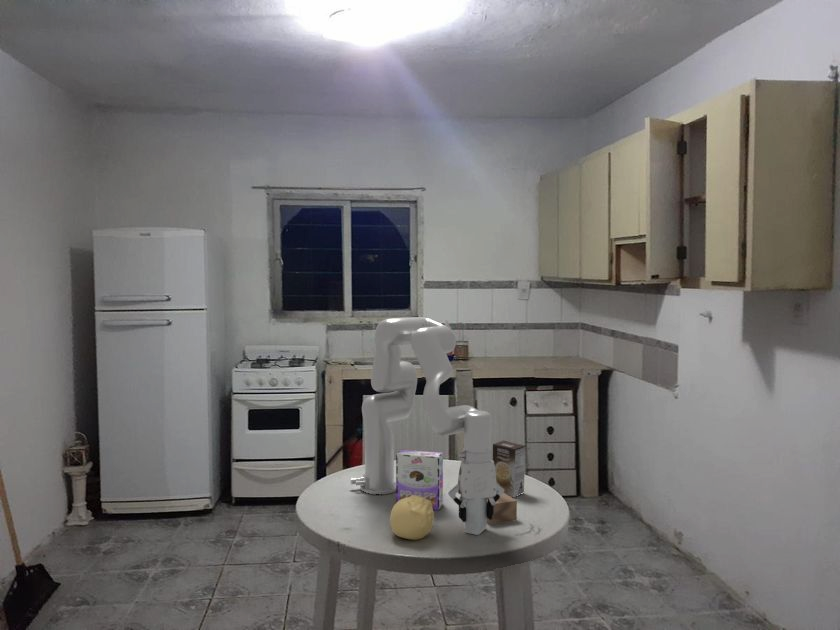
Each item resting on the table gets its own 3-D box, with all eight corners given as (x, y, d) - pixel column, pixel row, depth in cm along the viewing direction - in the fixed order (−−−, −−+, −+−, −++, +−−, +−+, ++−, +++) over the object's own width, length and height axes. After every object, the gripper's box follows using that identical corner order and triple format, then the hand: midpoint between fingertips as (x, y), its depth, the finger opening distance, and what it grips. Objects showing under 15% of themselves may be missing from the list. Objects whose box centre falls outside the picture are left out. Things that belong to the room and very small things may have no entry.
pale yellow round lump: (430, 545, 171) (430, 505, 170) (385, 542, 173) (386, 502, 172) (437, 529, 182) (437, 491, 182) (395, 525, 184) (395, 488, 184)
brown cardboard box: (489, 525, 186) (489, 504, 185) (474, 514, 194) (474, 494, 193) (516, 520, 189) (516, 500, 189) (500, 510, 197) (501, 491, 197)
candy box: (443, 504, 202) (444, 452, 201) (439, 510, 196) (439, 457, 195) (401, 499, 206) (401, 448, 205) (395, 506, 200) (395, 453, 199)
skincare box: (472, 525, 184) (473, 483, 184) (486, 528, 182) (487, 486, 182) (464, 532, 179) (464, 490, 178) (478, 535, 177) (479, 492, 176)
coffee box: (490, 491, 214) (491, 443, 213) (502, 487, 218) (502, 440, 217) (514, 498, 207) (514, 448, 206) (525, 493, 212) (526, 445, 211)
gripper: (451, 462, 173) (450, 527, 175) (511, 458, 178) (510, 521, 179) (443, 454, 181) (442, 516, 182) (501, 450, 185) (500, 511, 186)
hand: (476, 518), depth 181 cm, fingers closed on skincare box, 7 cm apart
